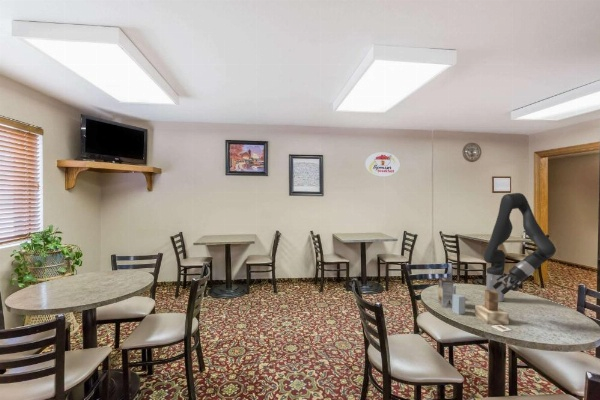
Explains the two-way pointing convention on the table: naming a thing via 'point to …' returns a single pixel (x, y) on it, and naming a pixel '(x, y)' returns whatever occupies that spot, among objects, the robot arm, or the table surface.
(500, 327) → the tile
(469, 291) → the table surface
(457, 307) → the slate block
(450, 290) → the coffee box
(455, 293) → the medicine box
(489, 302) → the walnut block
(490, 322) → the birch block
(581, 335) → the table surface
